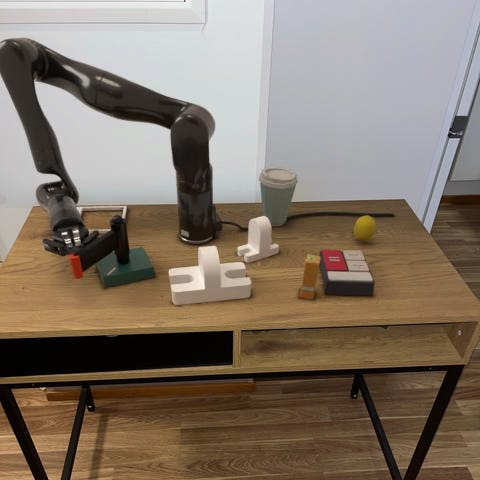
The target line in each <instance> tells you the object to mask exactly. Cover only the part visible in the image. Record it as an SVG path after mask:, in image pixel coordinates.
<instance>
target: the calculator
mask: <svg viewBox="0 0 480 480" xmlns="http://www.w3.org/2000/svg"><path fill="white" fill-rule="evenodd" d="M318 256H320V257H321V259H320V264H319V270H320V274H321V277H322V281H323V289H324V293H325V295H332V296H333V295H335V296H337V295H338V296H373V294H374V290H375V289H374V288H375V284H376V282H375V279H374V277H373V274H372V272H371V269H370V266H369V264H368V262H367V259H366V257H365V255H364V252H363V251H362V250H346V249H344V250H342V251H341V250H340V249H322V250H320V251H319V254H318Z"/></svg>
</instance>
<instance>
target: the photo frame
mask: <svg viewBox="0 0 480 480" xmlns="http://www.w3.org/2000/svg"><path fill="white" fill-rule="evenodd" d="M76 207H77V210H78V211H79V213H80V215H81V216H82V215H83V212H85V211H86V212H87V211H88V212H89V211H90V212H91V211H122V215H121V217H122V218H124V219H125V220H126V216H127V211H128V206H127V205H116V206H115V205H107V206H105V205H103V206H76ZM88 230H89V232H93V231H94V230H95V229H88ZM97 230H98V231H99V235H104V234H105V233H107V232H108V231H110V230H111V228H110V229H109V228H108V229H106V228H105V229H97Z"/></svg>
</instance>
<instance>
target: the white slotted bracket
mask: <svg viewBox="0 0 480 480" xmlns="http://www.w3.org/2000/svg"><path fill="white" fill-rule="evenodd" d="M197 249H198V252H197V257H198V258H197V259H198V261H197V262H198V265H194V266H184V267H183V266H182V267H172V268H170V269H168V282H169V289H170V290H171V291H170V292H171V300H172V304H173V305H176V306H181V305H182V306H183V305H192V304H201V303H211V302H221V301H229V300H239V299H248V298H250V297H251V293H252V292H251V290H252V280H251V278H250V276H247V277H246V274H247V268H246V266H245V264H244V263H243V262H241V261H239V262H237V261H236V262H226V263H221V261H220V255H219V251H218V248H217V246H216V245H211V246H210V245H209V246H199V247H198V248H197Z"/></svg>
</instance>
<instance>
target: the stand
mask: <svg viewBox="0 0 480 480" xmlns="http://www.w3.org/2000/svg"><path fill="white" fill-rule="evenodd" d="M95 267H96V269H97V272H98V274H99V276H100V280H101V282H102V285H103V287H104V288H105V289H106V288H110V287H115V286H118V285H124V284H125V285H126V284H130V283H133V282H134V283H135V282H139V281H142V280H148V279H153V278H155V268H154V265H153V263H152V262H151V260H150V258H149V256H148V254H147V252H146V251H145V249H144V247H143V246H140V247H134V248H130V254H129V255H127V256H124V257H118V256H116V255H115V253H114V251H113V252H112V253H110V254H109V255H107V256H106V257H104V258H103V259H102V260H100V261H99V262H97V263H96V264H95Z"/></svg>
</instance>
